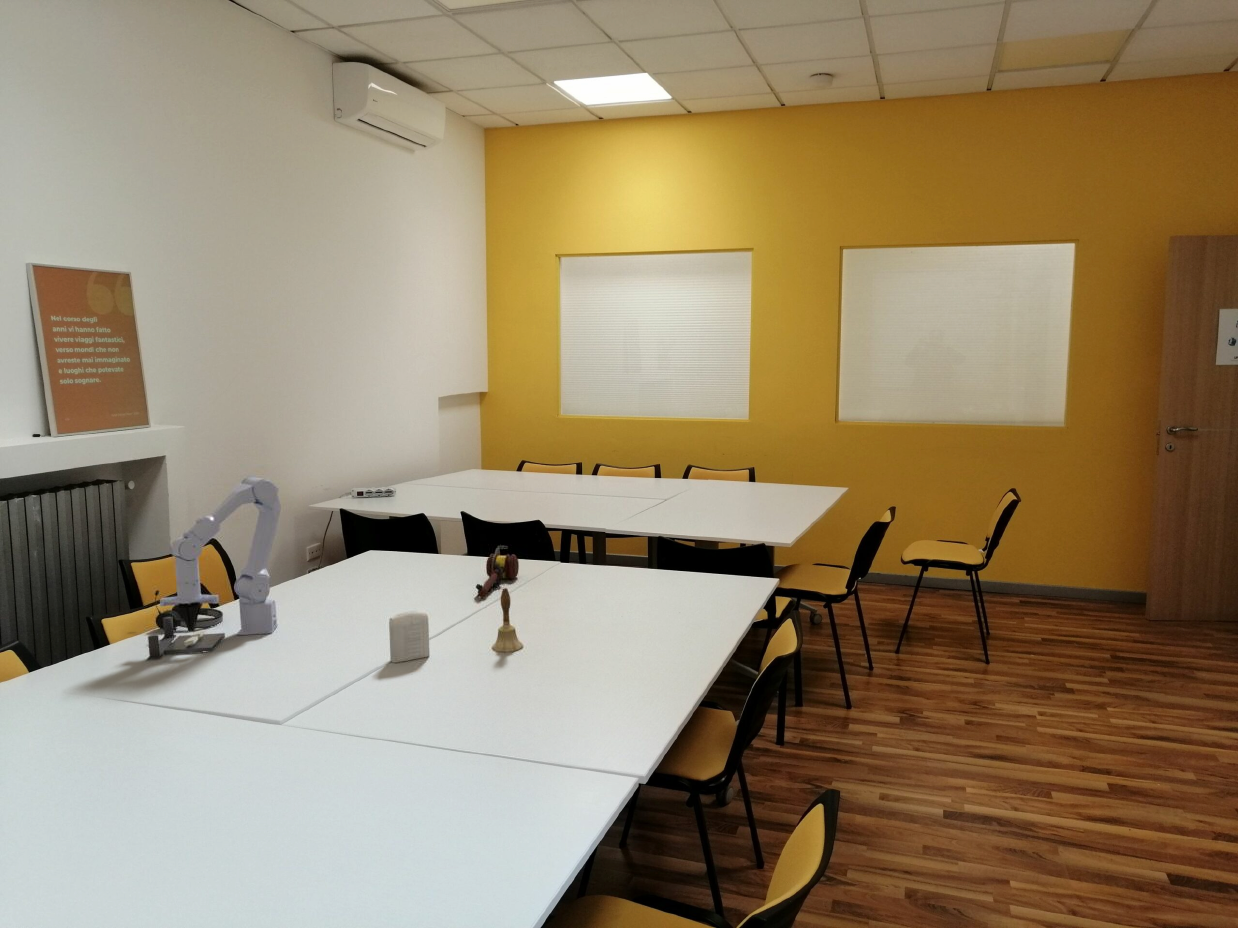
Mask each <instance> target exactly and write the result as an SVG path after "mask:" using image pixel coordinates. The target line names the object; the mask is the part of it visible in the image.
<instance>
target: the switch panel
mask: <svg viewBox="0 0 1238 928" xmlns="http://www.w3.org/2000/svg"><path fill="white" fill-rule="evenodd" d="M191 635H192V634H187V635H186V634H185V635H178V636H177V638H176V637H175V639H174V640H173V642H172V643H171V644H170V645H169V646H168V647H167V648H166V649H165V650H164V654H163V656H164V655H165V656H166V655H179V654H178V653H184V654H191V653H190V652H200V653H204V652H203V651H212V650H213V649H214V648H215V647H216V646H217V645H220V643H221V642H222V641H223V640H224V639H225V638H226V633H225V632H220V633H204V634H203V635H202V636H201V637H198V640H197V641H196V642H195V643H194V644H190V645H187V646H185V644H184V642H185V641H186V640H187V639H188V638H191ZM224 637H225V638H224ZM223 638H224V639H223ZM222 639H223V640H222ZM221 640H222V641H221ZM217 647H218V646H217ZM217 647H216V648H217ZM216 648H215V649H216ZM215 649H214V650H215ZM214 650H213V651H214ZM213 651H212V652H213Z"/></svg>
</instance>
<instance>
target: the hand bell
mask: <svg viewBox="0 0 1238 928" xmlns="http://www.w3.org/2000/svg"><path fill="white" fill-rule="evenodd" d="M500 606H501V610H502V624H503V625H501V626H499V627H498V630H497V631H498V632H497V636H496V637H497V638H496V640H495V642H494V643H493V645H492V646H491V650H493V651H494V652H498V653H511V652H512V653H513V652H516V651H520V650H521V649H522V648H524V645H523V643H522V642H521V641H520V639H519V637H518V635H517V633H516V628H515V626H513V625H511V624H510V621H511V620H510V607H511V595H510V593H509V590H508V587H507V588H506V587H505V588H504V587H503V588H502V590H501V595H500Z"/></svg>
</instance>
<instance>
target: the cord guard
mask: <svg viewBox="0 0 1238 928" xmlns="http://www.w3.org/2000/svg"><path fill="white" fill-rule="evenodd" d="M163 625H164V630H163V635H164V636H163V637H162V638H161V640H160V639H159V635H157V634H154V635H153V634H152V635H150V636H147V642H148V653H149V654H148V657H147V659H146V661H157V660H159V659H160V658H162V657H164V650H165V649H166V648H167V647H168V646H169V645H170V644H171V643H172V641H174V640H175V639H176V637H177V634H174V633H175V632H174V629H173V617H165V618H163ZM174 638H175V639H174ZM159 640H160V641H159ZM160 660H161V659H160Z"/></svg>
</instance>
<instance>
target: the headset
mask: <svg viewBox="0 0 1238 928" xmlns="http://www.w3.org/2000/svg"><path fill="white" fill-rule="evenodd" d="M159 593H160V590H158V589H157V590H156V591H155V593H154V595H155V597H154V598H155V599H154V601H155V607H156V609H157V613H158V614H157V615H156V617H155V624H156V626H157V627H158V628H159V629H160V630H162V629H163V630H162V631H164V625H163V618H165V617H173V630H174V629H177V628H178V627H180V628H184V629H185V628H186V629H188V628H187V625H186V623H185V621H184V619H183V617H182V616H181V614H180V613H179V612H178V609H177V608H178V606H179V605H173V606H172V608H171V609H169V610H168V609H167V610H165V611H161V610H159V609H158V605H157V596H159V595H160V594H159ZM198 616H206V617H211V618H208V619H197V622H196V629H207V628H208V627H209V628H212V627H211V626H213V627H216V626H218V625H217V624H219V623H220V624H221V622H222V623H223V618H224V612H223V611H221V610H219V609H216V608H208V607H206V608H205V607H201V609H200V612H199V614H198ZM220 624H219V625H220ZM215 625H216V626H215Z"/></svg>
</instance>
